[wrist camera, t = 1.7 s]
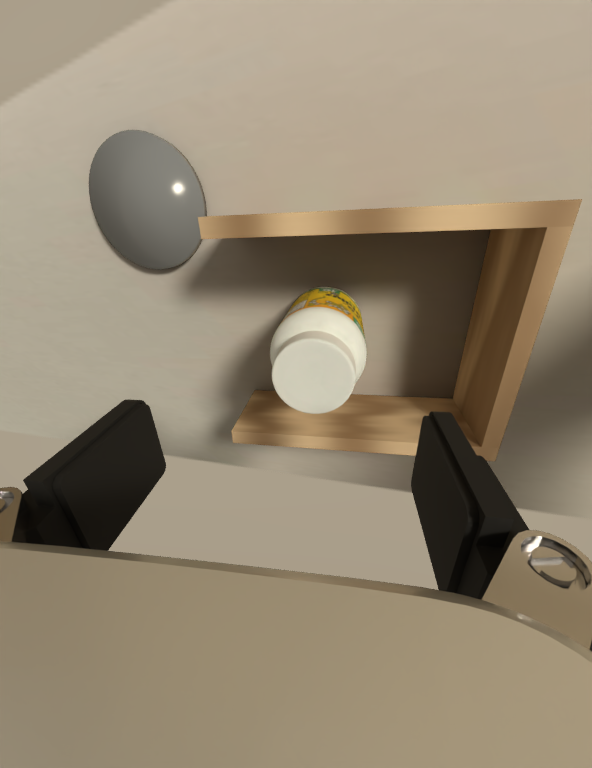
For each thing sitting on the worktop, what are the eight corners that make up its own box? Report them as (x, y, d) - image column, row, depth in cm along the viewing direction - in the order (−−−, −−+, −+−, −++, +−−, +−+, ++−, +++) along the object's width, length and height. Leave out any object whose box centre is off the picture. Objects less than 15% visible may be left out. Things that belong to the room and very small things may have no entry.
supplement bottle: (275, 319, 23) (233, 372, 15) (327, 268, 21) (314, 296, 13) (323, 368, 25) (309, 443, 16) (377, 324, 22) (394, 384, 14)
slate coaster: (194, 127, 19) (190, 124, 18) (215, 267, 22) (211, 268, 22) (78, 137, 20) (71, 135, 19) (115, 269, 24) (110, 270, 23)
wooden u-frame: (514, 206, 18) (582, 199, 13) (463, 410, 24) (495, 461, 19) (236, 219, 21) (197, 216, 15) (255, 400, 27) (233, 442, 22)
